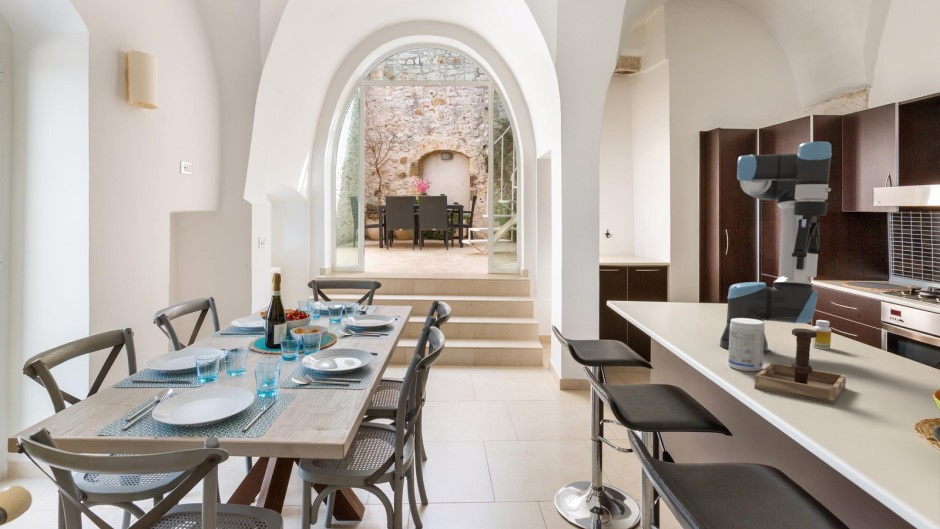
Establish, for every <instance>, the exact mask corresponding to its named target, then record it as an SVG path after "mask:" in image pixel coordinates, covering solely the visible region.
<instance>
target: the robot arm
mask: <svg viewBox="0 0 940 529" xmlns="http://www.w3.org/2000/svg"><path fill="white" fill-rule="evenodd" d="M832 156H833V153H832V144H831V143H830V142H829V141H807V142H803V143H800V144H799V145H798V152H797V153H777V154H752V153H751V154H748V155H747V154H746V155H740V156H739V157H738V158H737V168H736V169H737V171H736V178H737V181H739V185H740V188H741V190H742V192H743V193H744V194H746V195H748V196H750V197H752V198H755V199H759V200H763V201H776V202H777V204H776V206H777V207H778V208H779V209H781V222H780V224H781V225H780V241H779V242H780V243H779V264H778V277H777V279H775V280H774V281H773V283H772V287H770V286H767V283H766V282H762V281H759V282H757V281H750V282H739V283H734V284H732V285H730V286H729V288H728V292H727V293H728V295H727V297H726V298H727V310H726V311H727V312H726V324H725V325H726V326H725V327H724V330H723V332H722V334H721V337H720V339H719V347H721V348H723V349H726V350H729V334H730V323H731V319H734V318H749V319H756V320H760V321H763V322H764V323H765V321H767V322H780V323H790V324H808V323H811V321H812V320H813V317H814V315H815V312H816V306H817V303H818V302H817V301H818V292H819V291H818V290H817V289H813V283H812V282H811V281H810V280H809V279H808V278H817V272H818V260H819V259H818V258H819V254H820V255H821V254H822V249H821V247H820V246H821V243H820V242H821V241H820V235H821V234H820V222H821V219H820V218H818V217H820V216H821V217H823V216H826V215H827V213H828V212H827V211H828V202H827V201H826V200H828V196H829V193H828V192H831V191H832V188H831V187H829V184H830V182H829V181H830V170H831V160H832ZM768 348H769V344H768V339H767V337H766V333H765V332H764V349H763V353H766V352H768V350H769V349H768Z"/></svg>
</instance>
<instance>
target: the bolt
mask: <svg viewBox="0 0 940 529" xmlns="http://www.w3.org/2000/svg"><path fill="white" fill-rule="evenodd" d="M791 335H792V336H794V337H796V348H795V349H796V350H795V362H793V363H791V365H790V366H791V369H792V371H794V372H795V375H794V378H795V379H794V382H797V383H802V384H807V383H808V374H810V373H812V370H813V367H812V365H810V353H811V352H810V351H811V345H812V344H811V343H812V339H813V338H817V333H816V331H814V330H813V329H809V328H799V327H798V328H793V329H792V330H791Z"/></svg>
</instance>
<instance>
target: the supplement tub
mask: <svg viewBox="0 0 940 529" xmlns="http://www.w3.org/2000/svg"><path fill="white" fill-rule="evenodd" d="M764 333H765V321H764V322H763V321H760V320H756V319H749V318H734V319H731V323H730V334H729V349H728V356H727V357H728V359H727V360H728V362H727V364H728V366H729V367H730V368H732V369H734V370H738V371H744V372H757V371H762V370H763V365H764V352H763V349H764Z"/></svg>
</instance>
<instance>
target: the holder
mask: <svg viewBox="0 0 940 529" xmlns="http://www.w3.org/2000/svg"><path fill="white" fill-rule="evenodd" d="M794 375H795V372H794V371H792V369H791V365H787V364H782V363H776V362H771V363H770V364H769V365H767V366H766V367H765V368H764V369H763V368H762V369H761V370H760V371H759V372H758V373H757V374H755V375H754V387H753V388H754V389H756V388H757V389H756V390H761V389H762V391H767V392H770V391H771V393H775V392H777V394H780V393H782V394H781V395H785V394H786V396H790V395H792V396H791V397H795V396H798V397H797V398H799V397H803V398H802V399H804V398H807V399H806V400H809V399H812V400H811V401H814V400H816V401H815V402H819V401H821V402H820V403H824V402H826V403H825V404H828V403H831V404H830V405H834V404H835V403H836V401H837V400H838V399H839V398H840V396H841V395H842V393H843V392H844V391H845V389H846V383H847V375H845V374H839V373H833V372H827V371H823V370H822V371H821V370H817V369H812V373H810V374H808V383H807V384H802V383H797V382H794V379H795V378H794ZM842 391H843V392H842ZM840 394H841V395H840ZM839 395H840V396H839ZM837 398H838V399H837ZM834 402H835V403H834Z"/></svg>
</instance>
